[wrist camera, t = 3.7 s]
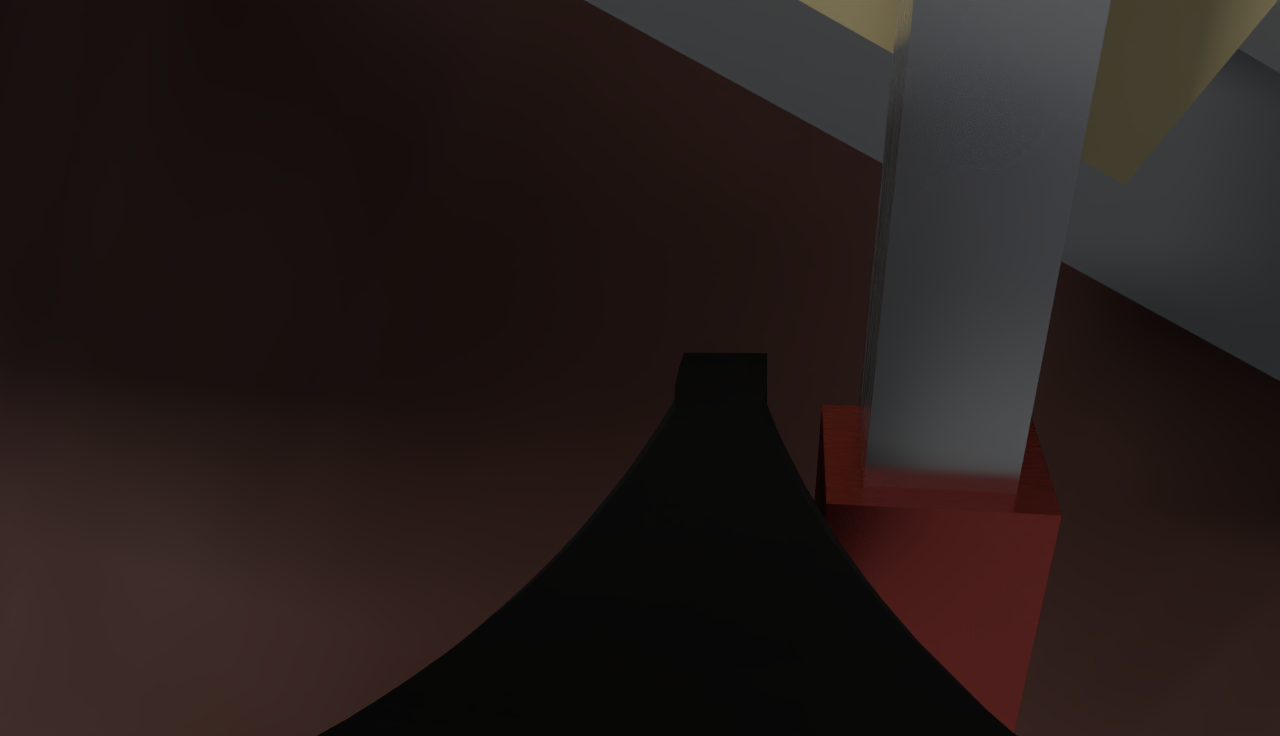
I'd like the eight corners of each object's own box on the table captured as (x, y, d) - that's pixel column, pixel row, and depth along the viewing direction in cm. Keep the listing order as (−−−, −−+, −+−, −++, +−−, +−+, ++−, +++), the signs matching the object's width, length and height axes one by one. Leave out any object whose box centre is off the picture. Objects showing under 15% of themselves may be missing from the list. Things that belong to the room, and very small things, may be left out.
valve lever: (848, -655, 7) (863, -713, 6) (1294, -675, 6) (1408, -740, 5) (766, 775, 13) (764, 889, 12) (986, 793, 13) (1007, 909, 12)
